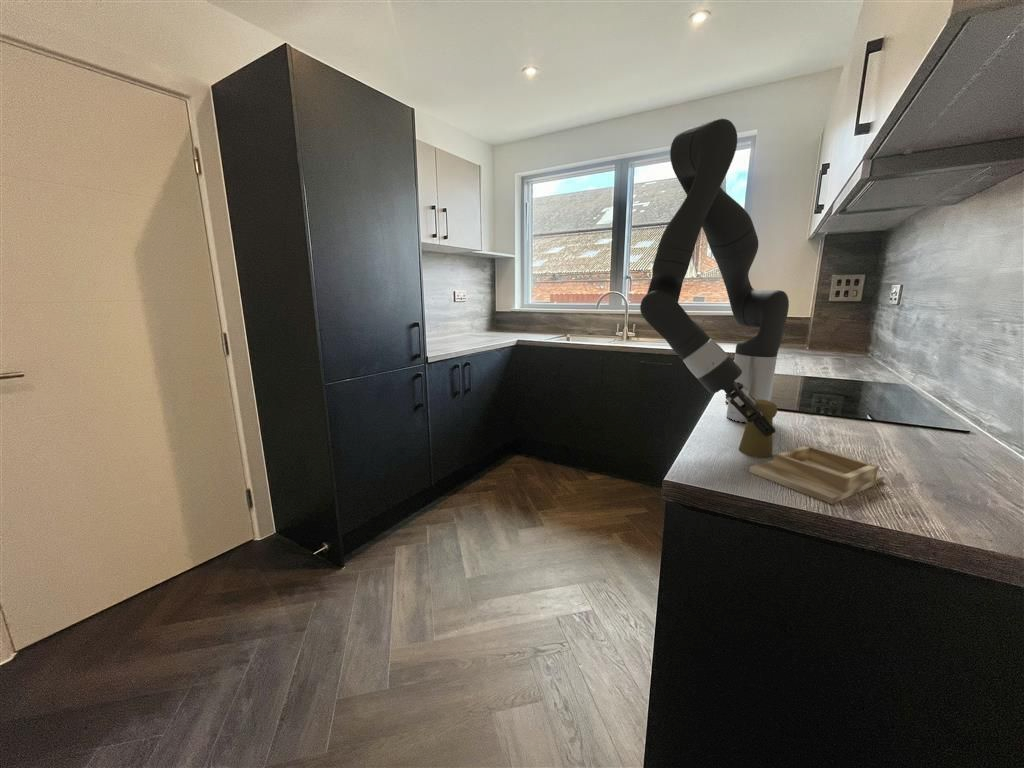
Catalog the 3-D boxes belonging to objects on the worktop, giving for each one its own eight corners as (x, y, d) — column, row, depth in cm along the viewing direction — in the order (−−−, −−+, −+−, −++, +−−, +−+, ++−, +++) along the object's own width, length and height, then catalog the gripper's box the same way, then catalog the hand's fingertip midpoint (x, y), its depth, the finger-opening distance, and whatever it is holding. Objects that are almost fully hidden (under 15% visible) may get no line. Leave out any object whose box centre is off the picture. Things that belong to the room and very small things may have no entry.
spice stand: (802, 455, 82) (805, 439, 81) (883, 481, 71) (887, 462, 70) (749, 471, 73) (752, 453, 73) (831, 504, 62) (836, 483, 61)
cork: (738, 453, 82) (746, 401, 80) (738, 444, 87) (745, 395, 85) (773, 459, 79) (782, 406, 77) (770, 449, 84) (779, 399, 82)
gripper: (728, 358, 76) (793, 429, 73) (726, 350, 89) (782, 410, 86) (694, 382, 79) (755, 451, 77) (697, 371, 92) (750, 430, 89)
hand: (769, 429), depth 81 cm, fingers closed on cork, 5 cm apart
